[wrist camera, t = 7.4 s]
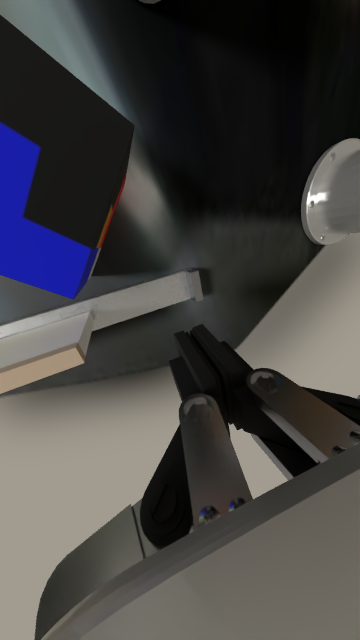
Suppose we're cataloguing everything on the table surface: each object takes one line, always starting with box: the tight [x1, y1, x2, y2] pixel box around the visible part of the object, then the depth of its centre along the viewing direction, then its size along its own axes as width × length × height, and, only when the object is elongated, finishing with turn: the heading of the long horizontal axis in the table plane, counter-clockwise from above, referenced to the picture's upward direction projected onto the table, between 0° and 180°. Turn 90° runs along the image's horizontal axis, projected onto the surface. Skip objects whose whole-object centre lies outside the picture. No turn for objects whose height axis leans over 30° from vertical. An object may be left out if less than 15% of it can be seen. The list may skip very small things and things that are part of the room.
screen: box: [0, 312, 94, 394], centre depth 15 cm, size 12×1×8 cm, turn 103°
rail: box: [0, 268, 203, 339], centre depth 20 cm, size 26×4×3 cm, turn 103°
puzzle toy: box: [0, 15, 134, 299], centre depth 13 cm, size 10×10×10 cm
